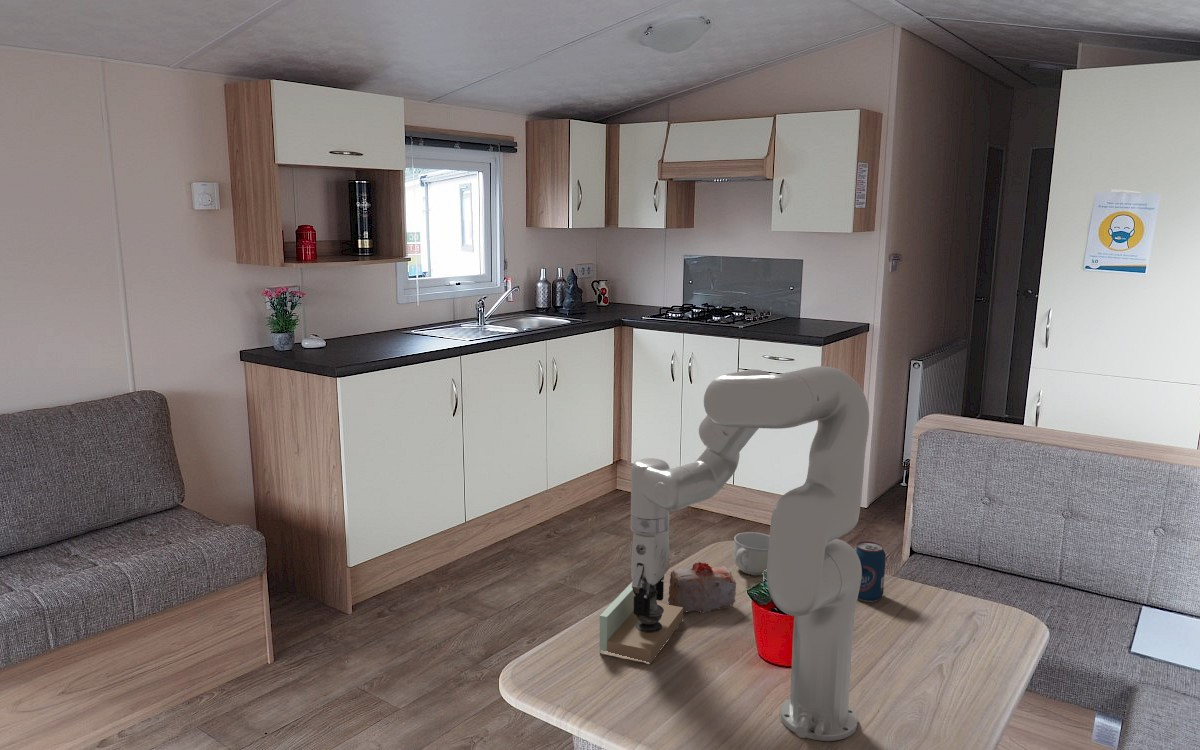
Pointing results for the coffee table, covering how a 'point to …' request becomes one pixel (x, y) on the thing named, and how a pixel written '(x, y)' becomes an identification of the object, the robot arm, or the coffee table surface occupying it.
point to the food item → (702, 588)
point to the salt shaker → (651, 613)
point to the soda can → (871, 570)
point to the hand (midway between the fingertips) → (648, 606)
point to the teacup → (751, 552)
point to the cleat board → (623, 633)
